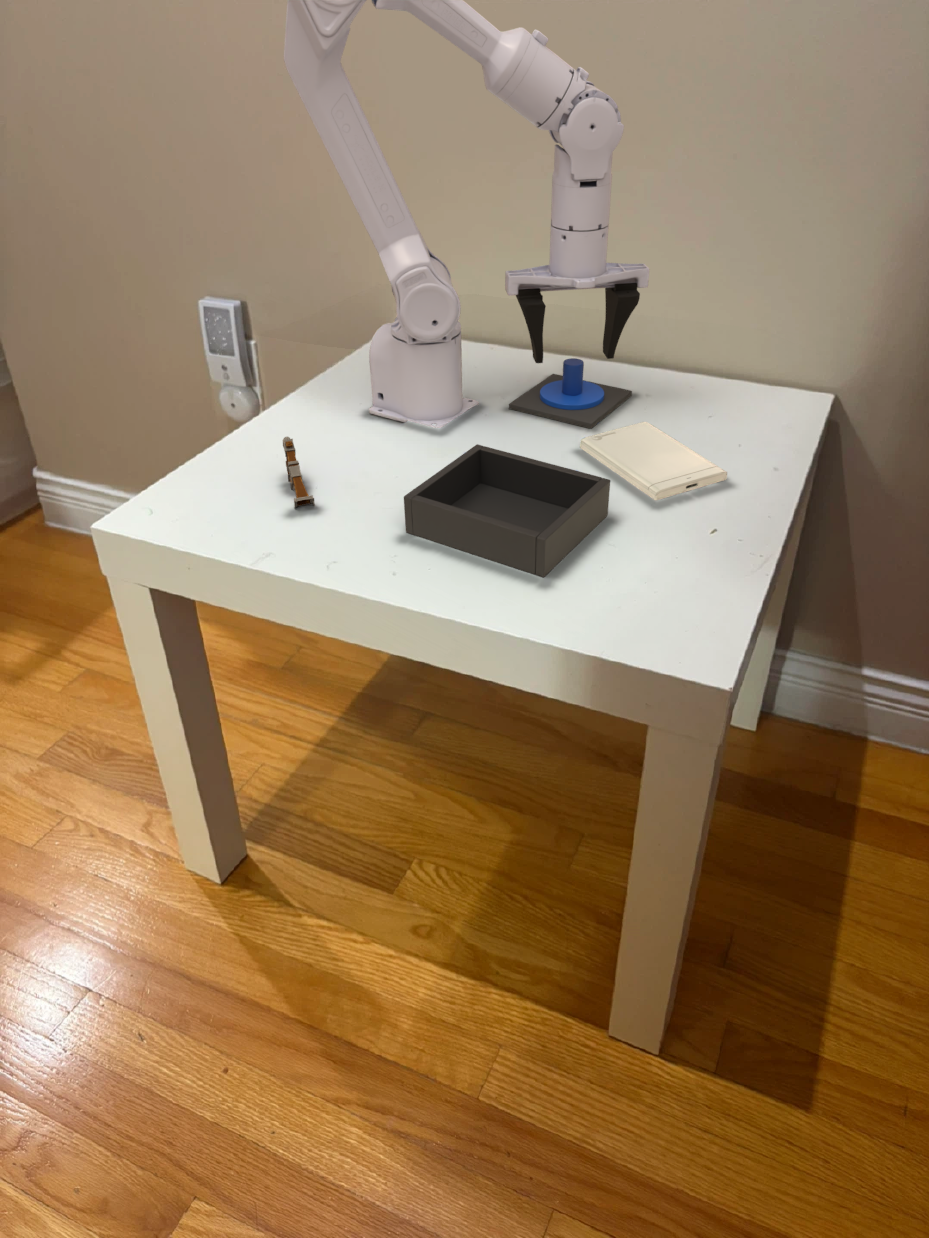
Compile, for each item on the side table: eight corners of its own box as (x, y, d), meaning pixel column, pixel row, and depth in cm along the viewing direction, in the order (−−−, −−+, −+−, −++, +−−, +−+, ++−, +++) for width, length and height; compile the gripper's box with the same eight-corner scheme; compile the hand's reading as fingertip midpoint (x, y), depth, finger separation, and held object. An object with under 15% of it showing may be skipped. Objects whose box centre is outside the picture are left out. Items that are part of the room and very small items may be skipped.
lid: (530, 404, 104) (531, 369, 102) (551, 381, 109) (553, 346, 107) (593, 414, 102) (595, 378, 99) (611, 389, 107) (614, 354, 104)
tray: (405, 538, 83) (403, 496, 81) (477, 483, 91) (476, 443, 88) (543, 583, 77) (545, 540, 75) (607, 521, 85) (610, 479, 82)
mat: (508, 409, 105) (508, 403, 104) (552, 378, 111) (552, 373, 111) (591, 429, 100) (591, 423, 100) (631, 395, 107) (632, 390, 106)
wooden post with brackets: (297, 461, 93) (295, 430, 89) (315, 526, 89) (314, 496, 86) (278, 464, 93) (276, 432, 89) (296, 530, 89) (294, 500, 85)
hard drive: (580, 437, 95) (656, 490, 86) (647, 420, 98) (728, 468, 89) (579, 453, 96) (654, 506, 87) (646, 435, 99) (726, 484, 90)
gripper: (513, 238, 91) (512, 376, 99) (662, 231, 92) (649, 367, 100) (502, 220, 96) (501, 351, 104) (643, 213, 98) (631, 343, 106)
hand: (573, 357), depth 103 cm, fingers open, 7 cm apart
